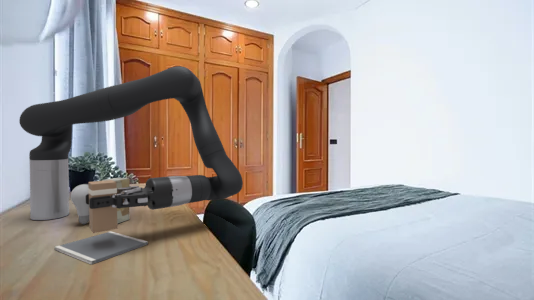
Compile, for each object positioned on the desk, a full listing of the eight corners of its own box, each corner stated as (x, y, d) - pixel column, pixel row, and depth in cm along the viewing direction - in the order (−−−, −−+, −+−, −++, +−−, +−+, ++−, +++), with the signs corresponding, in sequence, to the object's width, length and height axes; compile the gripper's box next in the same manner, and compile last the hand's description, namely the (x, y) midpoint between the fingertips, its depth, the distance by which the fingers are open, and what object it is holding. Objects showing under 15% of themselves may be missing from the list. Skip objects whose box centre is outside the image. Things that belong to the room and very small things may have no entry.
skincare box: (114, 225, 76) (114, 180, 76) (101, 224, 77) (100, 179, 77) (130, 219, 83) (130, 177, 82) (117, 218, 84) (117, 177, 83)
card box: (89, 228, 61) (88, 182, 61) (113, 223, 64) (111, 180, 64) (92, 233, 57) (91, 184, 57) (117, 228, 60) (116, 182, 60)
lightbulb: (65, 225, 76) (64, 185, 75) (87, 220, 81) (87, 182, 81) (80, 228, 73) (80, 186, 73) (102, 222, 79) (102, 183, 79)
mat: (54, 249, 59) (54, 246, 59) (110, 233, 70) (110, 231, 69) (91, 264, 52) (91, 261, 52) (147, 244, 62) (147, 241, 62)
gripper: (158, 174, 75) (82, 180, 64) (180, 179, 64) (92, 187, 53) (159, 202, 75) (83, 212, 64) (180, 212, 64) (93, 227, 53)
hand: (88, 201), depth 59 cm, fingers closed on card box, 4 cm apart
